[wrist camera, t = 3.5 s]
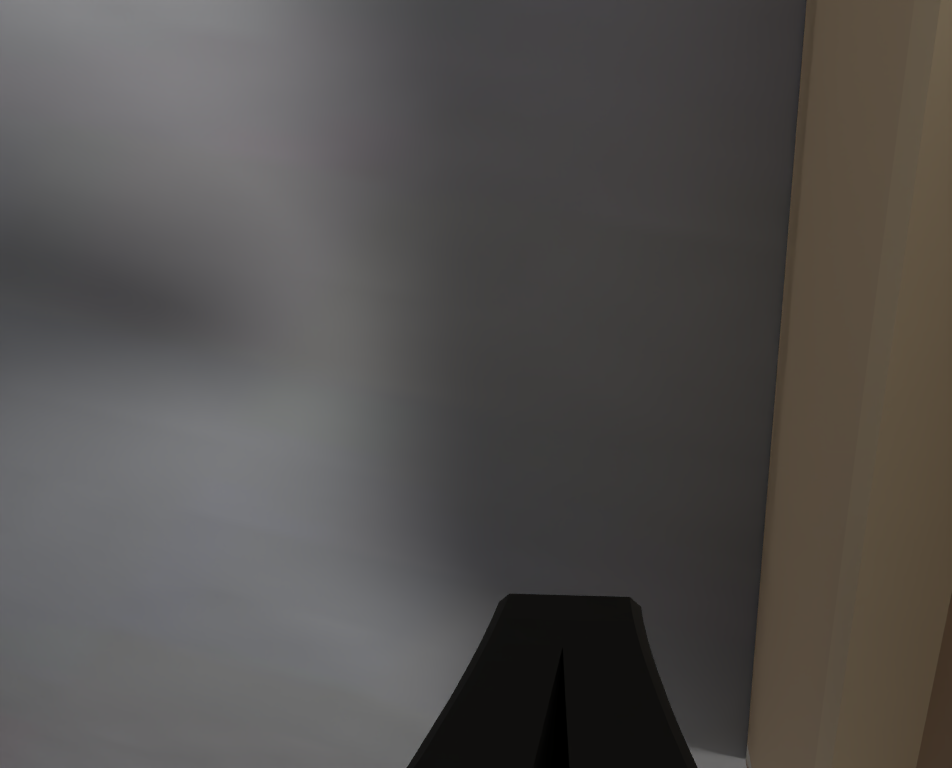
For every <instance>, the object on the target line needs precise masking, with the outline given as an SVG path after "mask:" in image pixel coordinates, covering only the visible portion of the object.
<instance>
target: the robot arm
mask: <svg viewBox="0 0 952 768" xmlns="http://www.w3.org/2000/svg"><path fill="white" fill-rule="evenodd" d="M407 768H697V766H696V763H695V761H694V759H693V757H692V755H691V752H690V750H689V748H688V746H687V744H686V741H685V739H684V737H683V735H682V733H681V730H680V728H679V725H678V723H677V721H676V718H675V716H674V713H673V711H672V708H671V706H670V703H669V701H668V698H667V695H666V693H665V690H664V687H663V685H662V682H661V679H660V677H659V674H658V671H657V668H656V665H655V662H654V659H653V656H652V653H651V649H650V646H649V643H648V639H647V635H646V631H645V627H644V623H643V617H642V611H641V607H640V606H639V605H638V604H637V603H636V602H635V601H634V600H633V599H631V598H630V597H607V596H571V595H536V594H508V595H507V596H506V597H505V598H504V599H502V600H501V601H500V602H499V604H498V606H497V608H496V611H495V613H494V615H493V618H492V620H491V622H490V624H489V626H488V628H487V630H486V632H485V635H484V637H483V639H482V641H481V643H480V645H479V647H478V648H477V650H476V652H475V654H474V656H473V658H472V660H471V662H470V664H469V665H468V667H467V669H466V671H465V673H464V674H463V676H462V678H461V680H460V681H459V683H458V685H457V687H456V689H455V690H454V692H453V694H452V696H451V697H450V699H449V701H448V702H447V704H446V706H445V707H444V709H443V710H442V712H441V714H440V715H439V717H438V718H437V720H436V722H435V723H434V725H433V727H432V728H431V730H430V731H429V733H428V735H427V736H426V738H425V740H424V741H423V743H422V744H421V746H420V748H419V749H418V751H417V753H416V754H415V756H414V757H413V759H412V760H411V762H410V763H409V765H408V767H407Z"/></svg>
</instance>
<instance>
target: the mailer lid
mask: <svg viewBox="0 0 952 768" xmlns="http://www.w3.org/2000/svg"><path fill="white" fill-rule="evenodd" d="M815 768H952V0H914V7H913V15H912V23H911V30H910V38H909V46H908V53H907V61H906V69H905V76H904V84H903V92H902V99H901V107H900V115H899V122H898V130H897V138H896V146H895V153H894V161H893V169H892V176H891V184H890V192H889V199H888V207H887V215H886V222H885V230H884V238H883V246H882V253H881V261H880V269H879V276H878V284H877V292H876V299H875V307H874V315H873V322H872V330H871V338H870V346H869V353H868V361H867V369H866V376H865V384H864V392H863V399H862V407H861V415H860V422H859V430H858V438H857V445H856V453H855V461H854V469H853V476H852V484H851V492H850V499H849V507H848V515H847V522H846V530H845V538H844V545H843V553H842V561H841V569H840V576H839V584H838V592H837V599H836V607H835V615H834V622H833V630H832V638H831V645H830V653H829V661H828V669H827V676H826V684H825V692H824V699H823V707H822V715H821V722H820V730H819V738H818V745H817V753H816V761H815Z"/></svg>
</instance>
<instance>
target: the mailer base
mask: <svg viewBox="0 0 952 768" xmlns="http://www.w3.org/2000/svg"><path fill="white" fill-rule="evenodd" d="M913 7H914V0H807V3H806V15H805V28H804V40H803V53H802V65H801V78H800V90H799V103H798V115H797V128H796V140H795V153H794V165H793V178H792V190H791V203H790V215H789V228H788V240H787V253H786V265H785V278H784V290H783V303H782V315H781V328H780V340H779V353H778V365H777V378H776V390H775V402H774V415H773V427H772V440H771V452H770V465H769V477H768V490H767V502H766V515H765V527H764V540H763V552H762V565H761V577H760V590H759V602H758V615H757V627H756V640H755V652H754V665H753V677H752V690H751V702H750V715H749V727H748V740H747V752H746V765H747V768H815V761H816V753H817V745H818V738H819V730H820V722H821V715H822V707H823V699H824V692H825V684H826V676H827V669H828V661H829V653H830V645H831V638H832V630H833V622H834V615H835V607H836V599H837V592H838V584H839V576H840V569H841V561H842V553H843V545H844V538H845V530H846V522H847V515H848V507H849V499H850V492H851V484H852V476H853V469H854V461H855V453H856V445H857V438H858V430H859V422H860V415H861V407H862V399H863V392H864V384H865V376H866V369H867V361H868V353H869V346H870V338H871V330H872V322H873V315H874V307H875V299H876V292H877V284H878V276H879V269H880V261H881V253H882V246H883V238H884V230H885V222H886V215H887V207H888V199H889V192H890V184H891V176H892V169H893V161H894V153H895V146H896V138H897V130H898V122H899V115H900V107H901V99H902V92H903V84H904V76H905V69H906V61H907V53H908V46H909V38H910V30H911V23H912V15H913Z"/></svg>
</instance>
